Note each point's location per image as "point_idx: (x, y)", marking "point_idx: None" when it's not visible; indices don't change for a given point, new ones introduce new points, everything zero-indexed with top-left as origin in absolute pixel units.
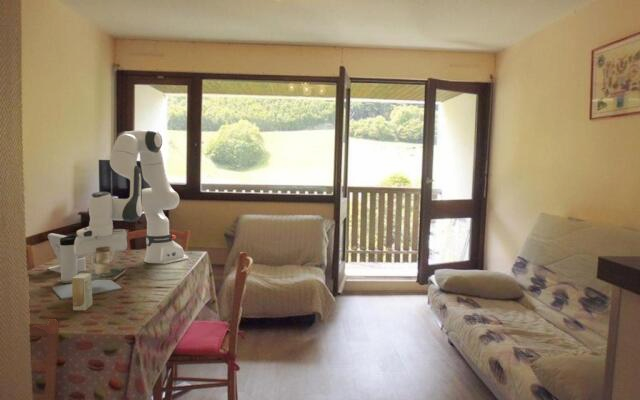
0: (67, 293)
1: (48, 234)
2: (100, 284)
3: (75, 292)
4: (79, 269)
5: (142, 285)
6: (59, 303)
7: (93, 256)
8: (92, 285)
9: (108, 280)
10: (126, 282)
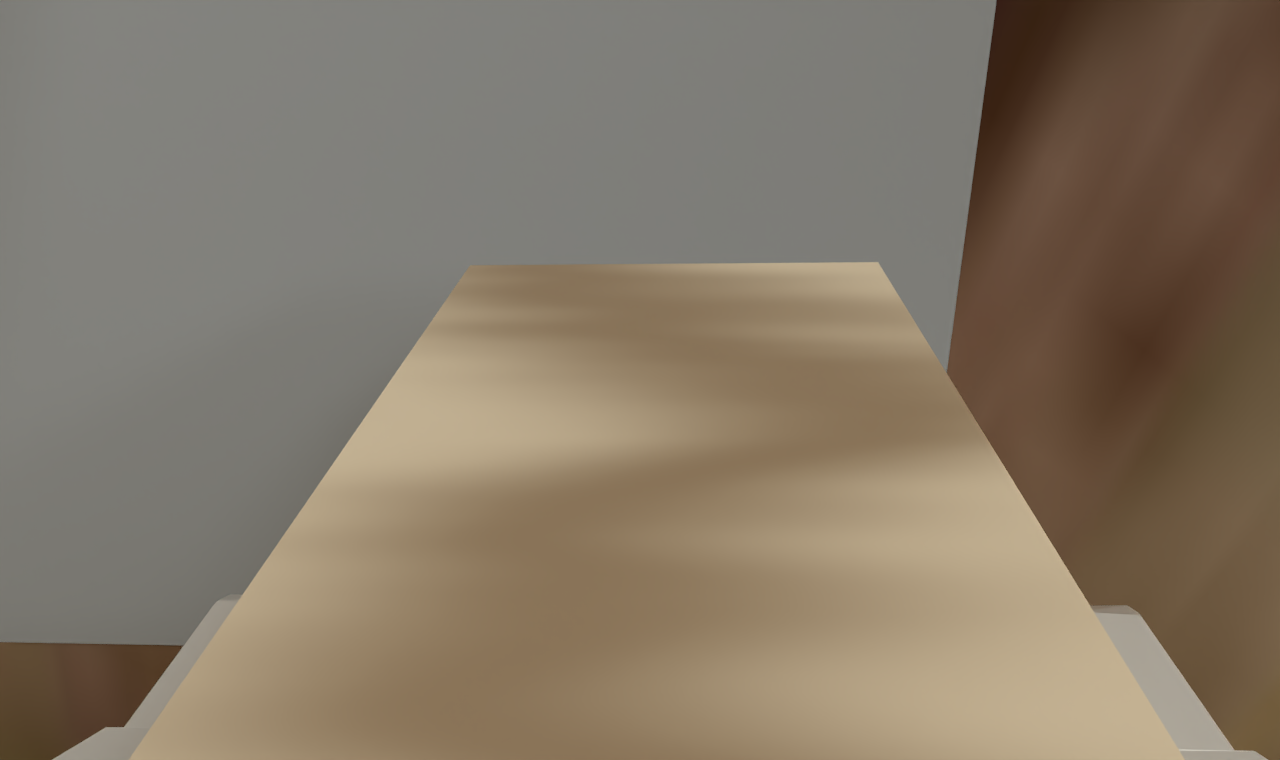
0: (53, 467)
1: None
2: (658, 250)
3: None
4: None
5: (1275, 646)
6: (11, 736)
7: (227, 621)
8: (499, 222)
9: (920, 4)
10: (1188, 302)
